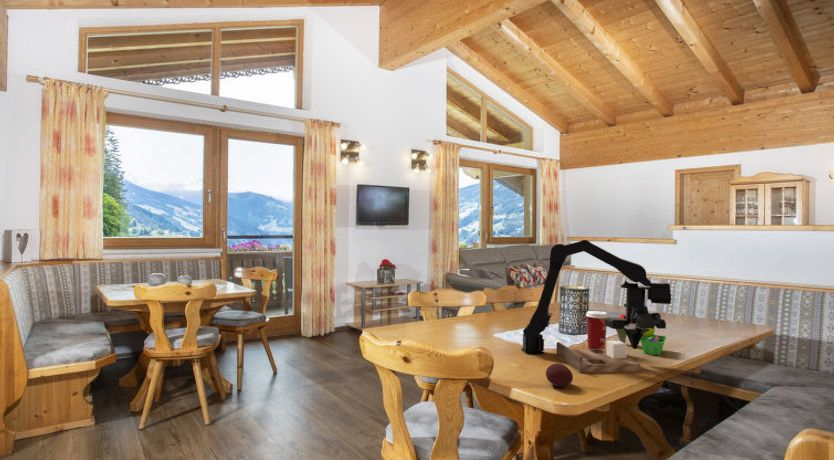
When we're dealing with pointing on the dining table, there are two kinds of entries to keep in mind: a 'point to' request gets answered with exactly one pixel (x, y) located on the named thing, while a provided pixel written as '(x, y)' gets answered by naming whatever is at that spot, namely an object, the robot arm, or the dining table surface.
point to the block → (616, 349)
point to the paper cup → (596, 329)
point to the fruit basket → (652, 342)
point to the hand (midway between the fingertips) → (634, 348)
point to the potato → (559, 375)
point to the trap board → (594, 360)
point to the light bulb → (621, 333)
